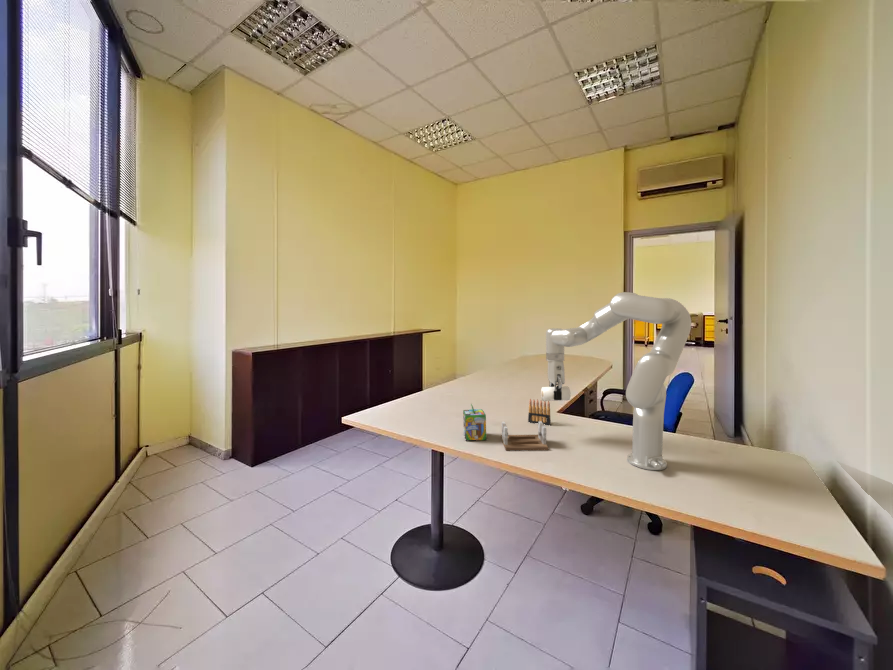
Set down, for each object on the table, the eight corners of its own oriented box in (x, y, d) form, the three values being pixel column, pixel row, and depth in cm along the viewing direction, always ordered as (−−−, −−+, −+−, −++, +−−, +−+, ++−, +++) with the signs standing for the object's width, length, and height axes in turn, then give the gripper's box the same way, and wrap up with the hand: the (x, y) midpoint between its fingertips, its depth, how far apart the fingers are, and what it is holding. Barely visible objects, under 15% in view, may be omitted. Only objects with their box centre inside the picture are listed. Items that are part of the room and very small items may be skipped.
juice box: (486, 440, 151) (486, 407, 150) (465, 441, 151) (465, 408, 149) (483, 433, 160) (482, 401, 159) (463, 433, 160) (462, 402, 159)
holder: (548, 450, 140) (548, 430, 139) (505, 450, 140) (505, 430, 140) (539, 437, 154) (539, 419, 153) (500, 437, 154) (500, 419, 154)
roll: (570, 401, 149) (570, 387, 149) (544, 402, 149) (544, 388, 149) (566, 398, 155) (566, 385, 155) (540, 399, 155) (540, 385, 155)
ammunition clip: (528, 422, 174) (528, 398, 173) (528, 421, 175) (529, 397, 174) (549, 425, 169) (550, 401, 168) (550, 424, 170) (550, 400, 169)
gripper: (570, 359, 142) (570, 403, 144) (557, 354, 160) (557, 393, 161) (552, 360, 142) (552, 403, 144) (541, 354, 160) (541, 393, 161)
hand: (555, 397), depth 152 cm, fingers closed on roll, 6 cm apart
